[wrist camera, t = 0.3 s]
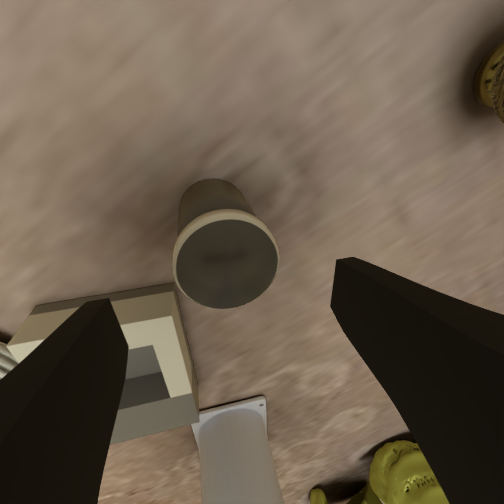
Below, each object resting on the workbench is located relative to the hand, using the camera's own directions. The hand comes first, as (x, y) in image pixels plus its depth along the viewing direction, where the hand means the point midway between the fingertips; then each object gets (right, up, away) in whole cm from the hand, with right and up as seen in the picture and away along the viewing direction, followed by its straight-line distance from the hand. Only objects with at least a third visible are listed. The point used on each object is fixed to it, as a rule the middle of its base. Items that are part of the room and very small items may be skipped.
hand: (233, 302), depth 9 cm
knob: (-2, +4, +9) cm, 10 cm away
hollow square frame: (-9, -6, +13) cm, 17 cm away
